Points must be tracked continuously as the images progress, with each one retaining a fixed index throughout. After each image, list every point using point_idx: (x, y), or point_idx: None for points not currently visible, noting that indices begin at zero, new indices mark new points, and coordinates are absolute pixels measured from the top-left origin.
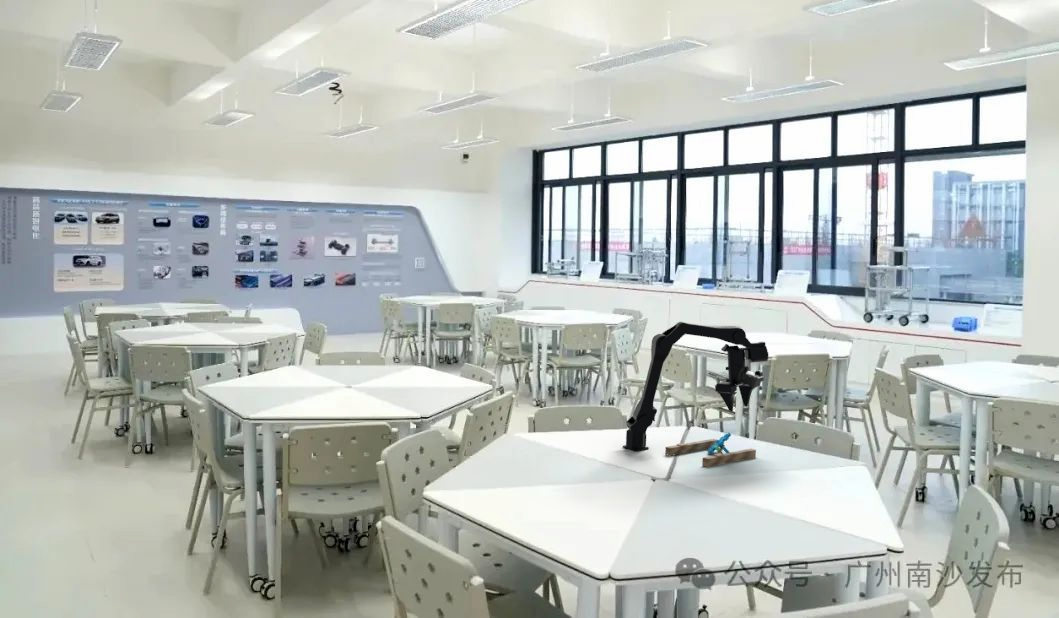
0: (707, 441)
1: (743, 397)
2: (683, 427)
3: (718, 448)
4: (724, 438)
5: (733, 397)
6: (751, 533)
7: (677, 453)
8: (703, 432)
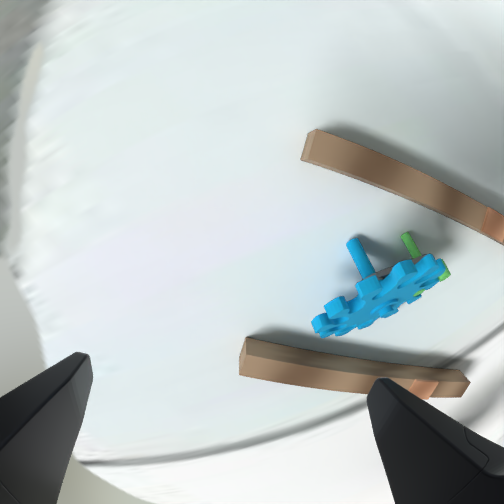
0: (311, 369)
1: (58, 456)
2: (96, 471)
3: (445, 265)
4: (425, 275)
5: (484, 465)
6: None
7: (439, 369)
8: (89, 430)
